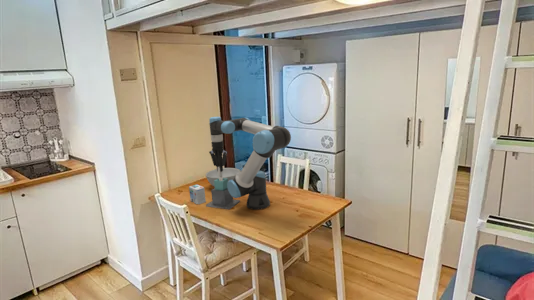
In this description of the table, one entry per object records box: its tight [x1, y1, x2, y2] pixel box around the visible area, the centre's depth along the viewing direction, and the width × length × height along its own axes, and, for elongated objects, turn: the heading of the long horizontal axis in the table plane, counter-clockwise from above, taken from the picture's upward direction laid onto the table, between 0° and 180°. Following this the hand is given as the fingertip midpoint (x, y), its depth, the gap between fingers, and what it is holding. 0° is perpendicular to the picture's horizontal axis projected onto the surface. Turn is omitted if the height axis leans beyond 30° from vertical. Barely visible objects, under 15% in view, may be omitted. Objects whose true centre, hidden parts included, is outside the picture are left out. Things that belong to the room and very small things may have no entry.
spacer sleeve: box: [214, 178, 228, 190], centre depth 220 cm, size 6×6×6 cm
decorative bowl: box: [205, 167, 242, 188], centre depth 256 cm, size 27×27×12 cm
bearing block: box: [205, 187, 241, 210], centre depth 222 cm, size 18×14×11 cm
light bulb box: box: [188, 184, 207, 205], centre depth 230 cm, size 11×7×11 cm, turn 40°
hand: (220, 176), depth 219 cm, fingers closed
